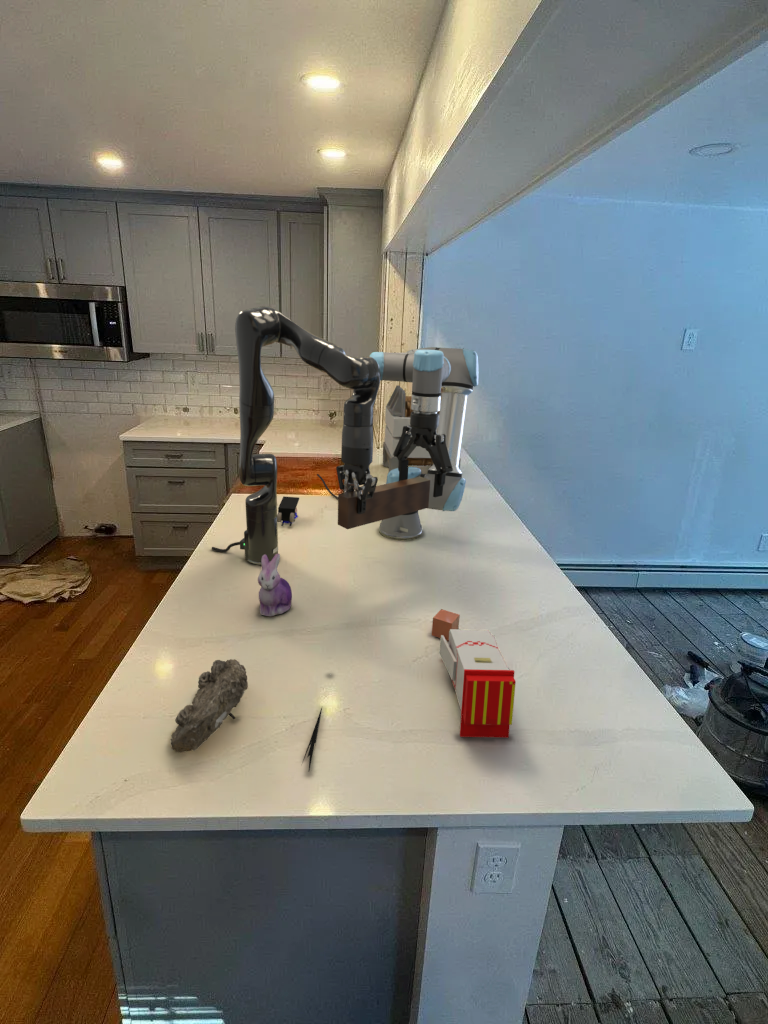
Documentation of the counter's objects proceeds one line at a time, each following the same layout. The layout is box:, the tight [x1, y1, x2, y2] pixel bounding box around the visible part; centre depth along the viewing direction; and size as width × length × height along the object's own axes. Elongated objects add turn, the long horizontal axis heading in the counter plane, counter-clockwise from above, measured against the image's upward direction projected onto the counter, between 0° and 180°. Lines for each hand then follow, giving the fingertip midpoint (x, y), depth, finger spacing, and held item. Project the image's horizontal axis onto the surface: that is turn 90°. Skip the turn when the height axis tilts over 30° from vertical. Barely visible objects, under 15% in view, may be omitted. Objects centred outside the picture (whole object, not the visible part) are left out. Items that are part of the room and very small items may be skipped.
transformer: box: [381, 384, 463, 473], centre depth 268 cm, size 34×33×41 cm
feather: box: [301, 673, 332, 771], centre depth 108 cm, size 2×28×2 cm
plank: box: [337, 477, 430, 530], centre depth 147 cm, size 28×4×8 cm, turn 131°
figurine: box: [257, 553, 293, 617], centre depth 145 cm, size 9×10×15 cm
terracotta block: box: [431, 608, 461, 642], centre depth 139 cm, size 5×5×5 cm
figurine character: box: [277, 495, 300, 527], centre depth 205 cm, size 7×8×15 cm
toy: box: [438, 628, 517, 738], centre depth 117 cm, size 12×13×30 cm
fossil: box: [170, 658, 249, 753], centre depth 106 cm, size 22×10×15 cm
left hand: (355, 510), depth 141 cm, fingers closed on plank, 4 cm apart
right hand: (419, 489), depth 154 cm, fingers open, 13 cm apart
